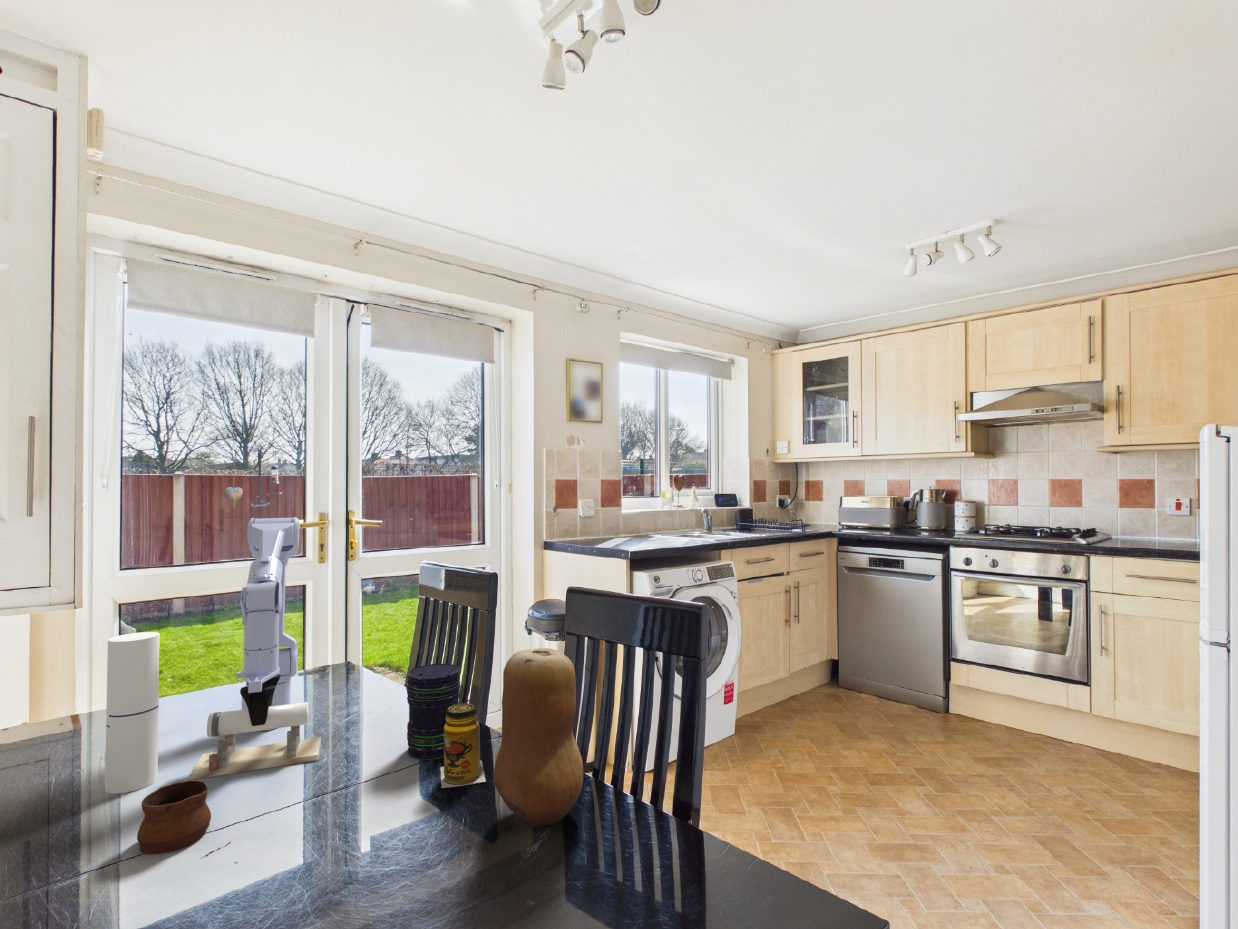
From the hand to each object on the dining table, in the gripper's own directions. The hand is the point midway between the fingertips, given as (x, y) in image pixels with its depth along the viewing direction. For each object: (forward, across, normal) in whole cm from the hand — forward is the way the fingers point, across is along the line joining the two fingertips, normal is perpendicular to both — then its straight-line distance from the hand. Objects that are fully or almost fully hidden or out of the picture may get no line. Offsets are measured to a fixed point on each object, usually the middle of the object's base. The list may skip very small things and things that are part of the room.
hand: (260, 720), depth 118 cm
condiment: (+8, +21, +34) cm, 41 cm away
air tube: (0, 0, 0) cm, 0 cm away
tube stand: (+7, 0, 0) cm, 7 cm away
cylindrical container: (+7, +2, -19) cm, 21 cm away
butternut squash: (+8, +40, +43) cm, 59 cm away
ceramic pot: (+8, +25, -7) cm, 27 cm away
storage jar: (+7, +8, +30) cm, 32 cm away
